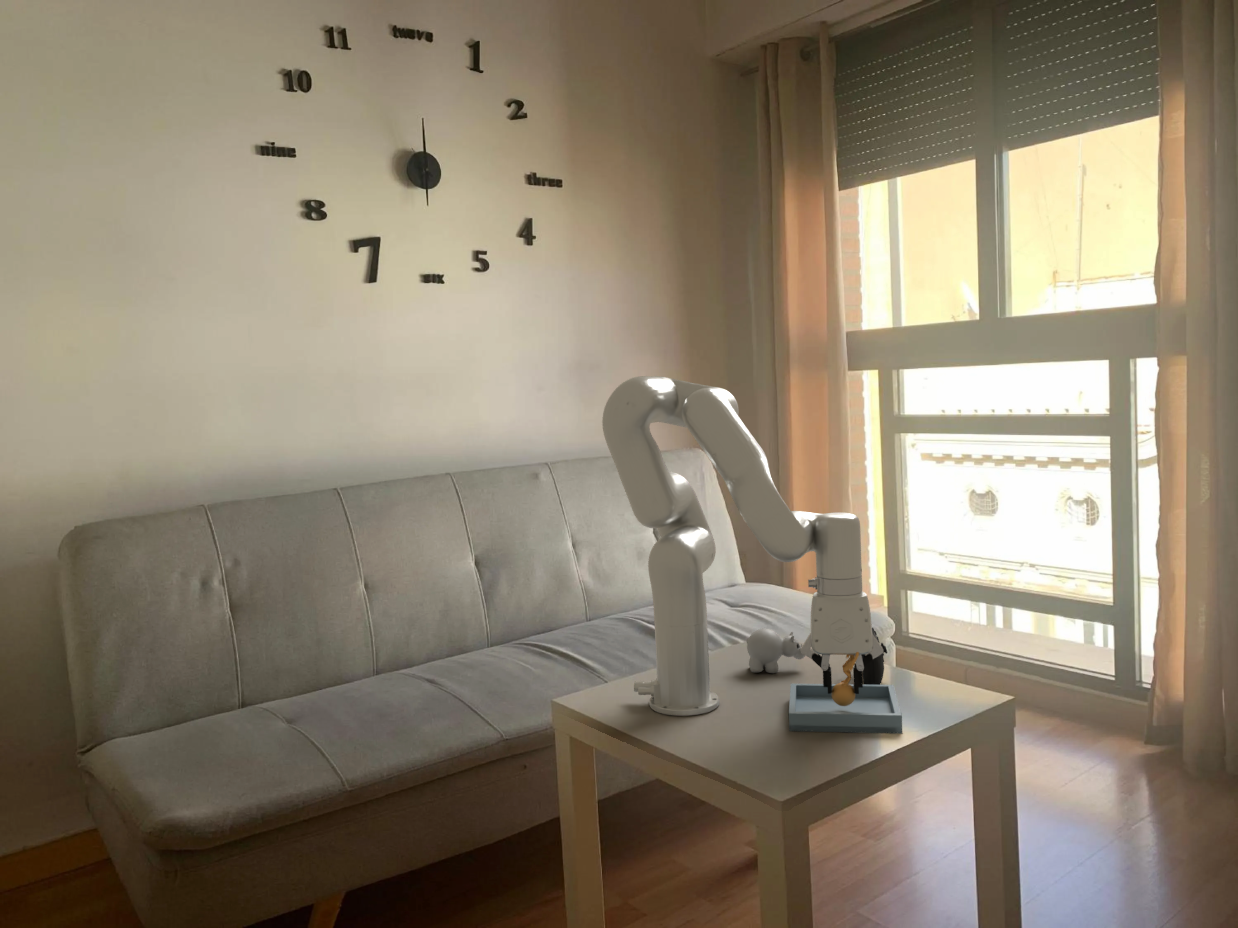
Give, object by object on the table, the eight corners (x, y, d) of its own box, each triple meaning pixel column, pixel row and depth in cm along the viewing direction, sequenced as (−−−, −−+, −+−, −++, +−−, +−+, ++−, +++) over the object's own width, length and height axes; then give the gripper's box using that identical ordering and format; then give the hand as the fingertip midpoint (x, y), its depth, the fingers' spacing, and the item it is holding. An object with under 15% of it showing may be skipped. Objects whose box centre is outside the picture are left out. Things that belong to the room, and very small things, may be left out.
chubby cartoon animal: (809, 675, 190) (808, 632, 189) (747, 676, 191) (746, 633, 191) (806, 664, 197) (805, 623, 196) (747, 665, 199) (745, 624, 198)
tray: (789, 730, 160) (788, 713, 160) (791, 699, 176) (790, 683, 176) (902, 733, 157) (901, 715, 157) (893, 701, 173) (893, 684, 172)
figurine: (831, 698, 171) (826, 631, 170) (866, 697, 170) (861, 629, 169) (833, 713, 162) (828, 643, 162) (870, 712, 161) (865, 642, 161)
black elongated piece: (891, 692, 177) (890, 639, 177) (857, 692, 179) (856, 639, 178) (886, 670, 191) (884, 620, 190) (854, 669, 192) (853, 620, 192)
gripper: (789, 591, 163) (793, 697, 164) (892, 590, 159) (895, 699, 161) (790, 581, 170) (793, 684, 171) (888, 580, 167) (891, 685, 168)
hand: (843, 690), depth 166 cm, fingers closed on figurine, 3 cm apart
